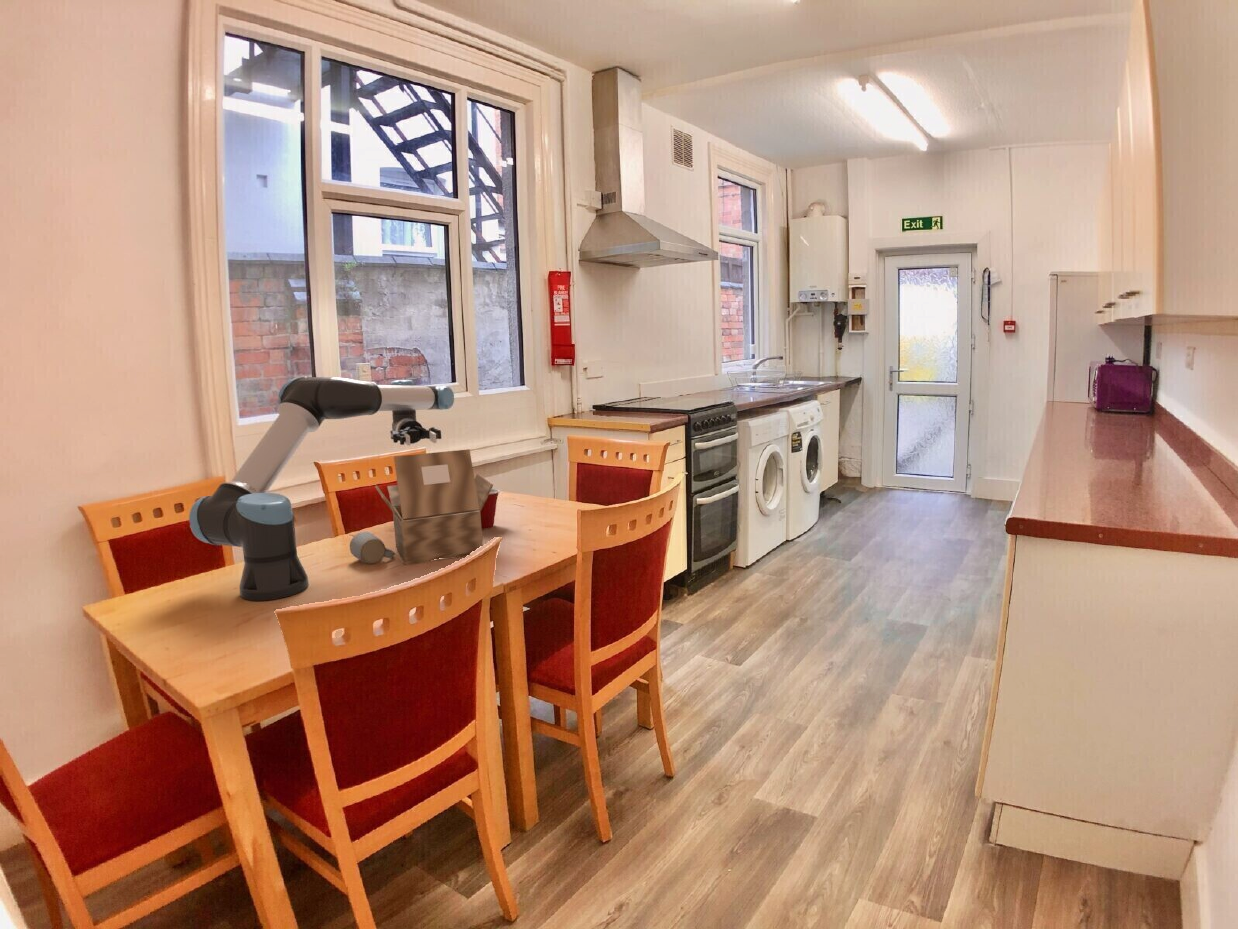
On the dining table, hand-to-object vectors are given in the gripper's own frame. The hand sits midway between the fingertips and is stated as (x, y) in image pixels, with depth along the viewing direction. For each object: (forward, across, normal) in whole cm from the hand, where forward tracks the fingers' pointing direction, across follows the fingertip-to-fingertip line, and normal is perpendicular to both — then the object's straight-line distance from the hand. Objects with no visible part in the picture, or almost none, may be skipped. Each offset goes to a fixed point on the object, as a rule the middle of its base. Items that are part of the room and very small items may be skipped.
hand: (421, 439), depth 214 cm
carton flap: (+19, 0, -10) cm, 22 cm away
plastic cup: (-5, -18, -30) cm, 36 cm away
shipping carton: (+10, 0, -30) cm, 32 cm away
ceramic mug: (+14, +18, -30) cm, 38 cm away
